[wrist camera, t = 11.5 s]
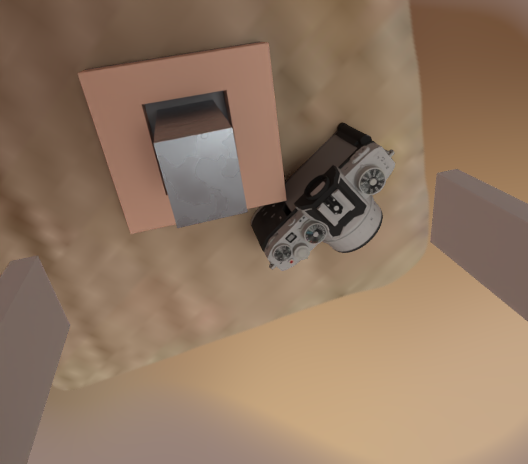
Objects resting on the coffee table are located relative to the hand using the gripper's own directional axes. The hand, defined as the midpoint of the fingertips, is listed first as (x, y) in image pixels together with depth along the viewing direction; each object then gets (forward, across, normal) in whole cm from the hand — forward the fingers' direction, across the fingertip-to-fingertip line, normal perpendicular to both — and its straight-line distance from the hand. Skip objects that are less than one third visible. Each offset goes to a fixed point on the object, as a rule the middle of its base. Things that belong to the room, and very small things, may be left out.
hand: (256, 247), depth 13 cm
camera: (+27, +10, -11) cm, 31 cm away
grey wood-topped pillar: (+26, -1, -3) cm, 26 cm away
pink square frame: (+27, -1, -3) cm, 27 cm away
